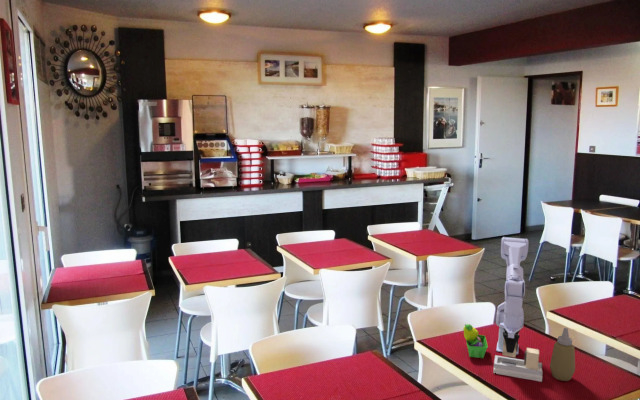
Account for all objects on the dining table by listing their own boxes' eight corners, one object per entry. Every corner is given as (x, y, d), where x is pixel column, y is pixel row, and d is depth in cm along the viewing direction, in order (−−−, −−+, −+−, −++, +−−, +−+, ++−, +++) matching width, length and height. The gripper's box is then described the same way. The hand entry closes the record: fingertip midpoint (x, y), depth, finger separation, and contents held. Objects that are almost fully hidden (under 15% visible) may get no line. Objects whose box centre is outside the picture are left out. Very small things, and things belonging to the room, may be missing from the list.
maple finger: (502, 350, 192) (504, 332, 191) (517, 353, 191) (518, 334, 190) (502, 355, 189) (503, 336, 188) (517, 357, 187) (518, 338, 186)
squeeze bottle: (572, 374, 188) (577, 325, 185) (575, 384, 180) (580, 334, 178) (548, 370, 191) (552, 322, 188) (549, 380, 183) (554, 331, 180)
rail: (494, 361, 197) (496, 339, 196) (541, 369, 191) (543, 347, 190) (493, 373, 188) (494, 350, 187) (541, 381, 182) (543, 358, 181)
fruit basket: (487, 360, 198) (489, 331, 196) (462, 357, 200) (464, 329, 198) (484, 347, 209) (486, 320, 207) (461, 345, 211) (462, 318, 209)
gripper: (501, 305, 196) (499, 340, 198) (499, 318, 182) (497, 356, 184) (522, 308, 193) (519, 343, 195) (521, 321, 180) (518, 359, 182)
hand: (510, 349), depth 189 cm, fingers closed on maple finger, 4 cm apart
